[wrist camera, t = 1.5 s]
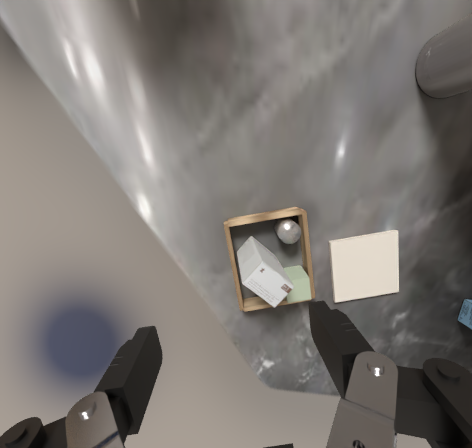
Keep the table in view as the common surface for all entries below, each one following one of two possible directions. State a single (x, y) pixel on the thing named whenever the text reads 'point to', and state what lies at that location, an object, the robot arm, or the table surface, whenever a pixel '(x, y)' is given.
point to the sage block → (298, 284)
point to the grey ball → (287, 230)
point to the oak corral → (258, 302)
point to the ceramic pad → (364, 266)
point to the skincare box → (263, 272)
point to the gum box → (466, 313)
